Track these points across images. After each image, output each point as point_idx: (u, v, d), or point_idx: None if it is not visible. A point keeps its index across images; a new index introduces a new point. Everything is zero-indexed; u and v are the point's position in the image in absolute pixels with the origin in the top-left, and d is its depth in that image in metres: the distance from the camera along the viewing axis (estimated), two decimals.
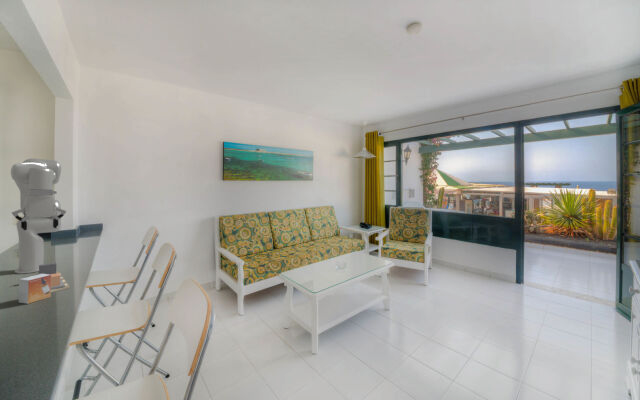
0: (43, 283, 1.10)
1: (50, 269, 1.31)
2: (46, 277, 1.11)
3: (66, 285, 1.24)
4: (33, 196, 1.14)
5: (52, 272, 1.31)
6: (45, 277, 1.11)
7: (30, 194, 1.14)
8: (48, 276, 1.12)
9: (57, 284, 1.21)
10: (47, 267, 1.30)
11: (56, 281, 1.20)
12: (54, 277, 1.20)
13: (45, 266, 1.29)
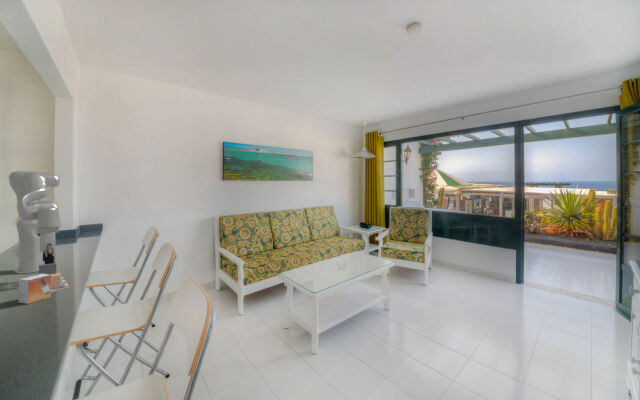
0: (43, 283, 1.10)
1: (50, 269, 1.31)
2: (46, 277, 1.11)
3: (66, 285, 1.24)
4: (55, 232, 1.30)
5: (52, 272, 1.31)
6: (45, 277, 1.11)
7: (53, 231, 1.29)
8: (48, 276, 1.12)
9: (57, 284, 1.21)
10: (47, 267, 1.30)
11: (56, 281, 1.20)
12: (54, 277, 1.20)
13: (45, 266, 1.29)
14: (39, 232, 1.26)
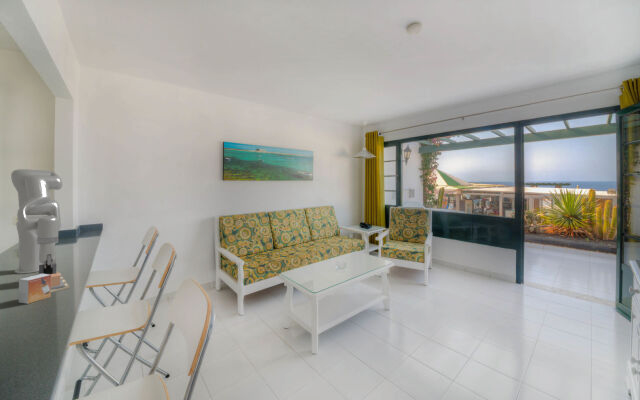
0: (43, 283, 1.10)
1: None
2: (46, 277, 1.11)
3: (66, 285, 1.24)
4: None
5: None
6: (45, 277, 1.11)
7: (52, 242, 1.29)
8: (48, 276, 1.12)
9: (57, 284, 1.21)
10: None
11: (56, 281, 1.20)
12: (54, 277, 1.20)
13: None
14: (39, 243, 1.26)
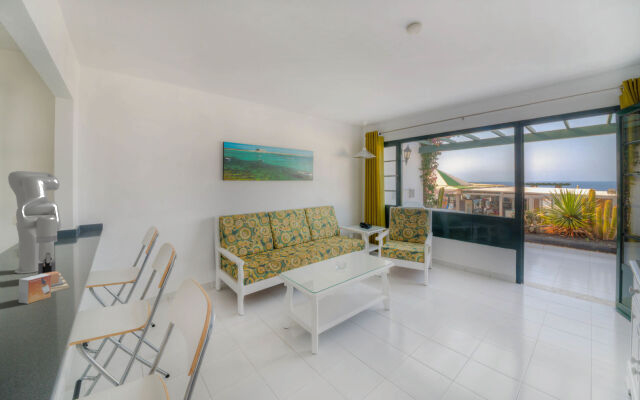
0: (43, 283, 1.10)
1: None
2: (46, 277, 1.11)
3: (66, 285, 1.24)
4: (54, 241, 1.33)
5: None
6: (45, 277, 1.11)
7: (51, 240, 1.32)
8: (48, 276, 1.12)
9: (56, 282, 1.23)
10: None
11: (55, 279, 1.23)
12: (53, 275, 1.22)
13: None
14: (38, 241, 1.29)
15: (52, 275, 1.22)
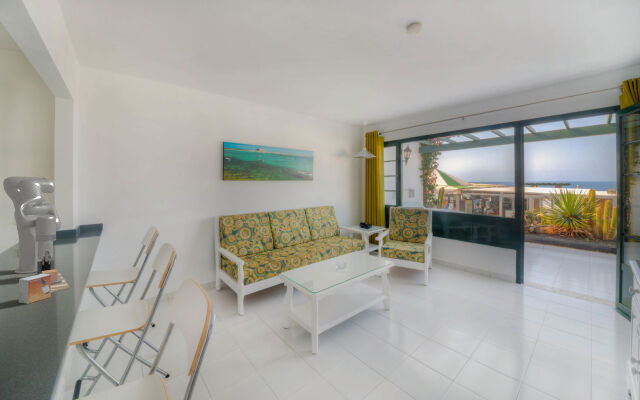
0: (43, 283, 1.10)
1: None
2: (46, 277, 1.11)
3: (66, 285, 1.24)
4: (53, 240, 1.36)
5: (50, 268, 1.37)
6: (45, 277, 1.11)
7: (50, 239, 1.35)
8: (48, 276, 1.12)
9: (54, 280, 1.26)
10: None
11: (53, 277, 1.26)
12: (52, 273, 1.25)
13: None
14: (37, 240, 1.32)
15: (51, 273, 1.25)
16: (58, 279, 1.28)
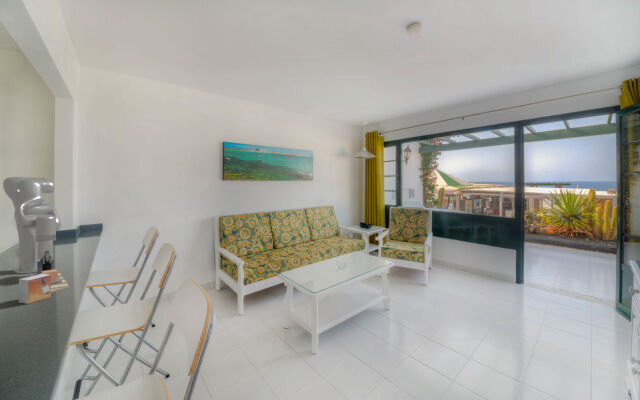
0: (43, 283, 1.10)
1: None
2: (46, 277, 1.11)
3: (66, 285, 1.24)
4: (53, 240, 1.36)
5: None
6: (45, 277, 1.11)
7: (50, 239, 1.35)
8: (48, 276, 1.12)
9: (54, 279, 1.26)
10: None
11: (53, 277, 1.26)
12: (52, 273, 1.25)
13: None
14: (37, 240, 1.32)
15: (51, 273, 1.25)
16: (58, 279, 1.28)
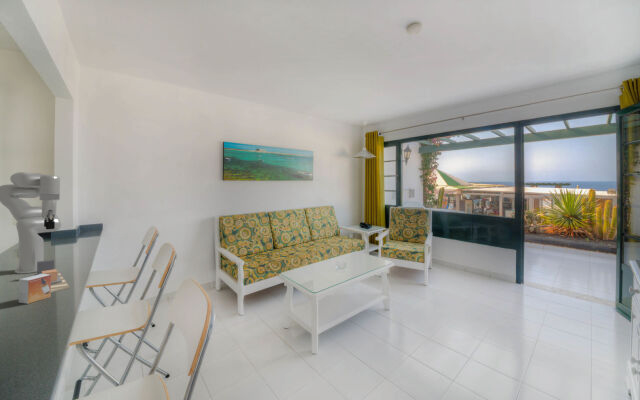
0: (43, 283, 1.10)
1: (48, 265, 1.36)
2: (46, 277, 1.11)
3: (66, 285, 1.24)
4: None
5: (50, 268, 1.37)
6: (45, 277, 1.11)
7: (54, 198, 1.35)
8: (48, 276, 1.12)
9: (54, 279, 1.26)
10: (45, 263, 1.35)
11: (53, 277, 1.26)
12: (52, 273, 1.25)
13: (43, 262, 1.34)
14: (41, 198, 1.32)
15: (51, 273, 1.25)
16: (58, 279, 1.28)
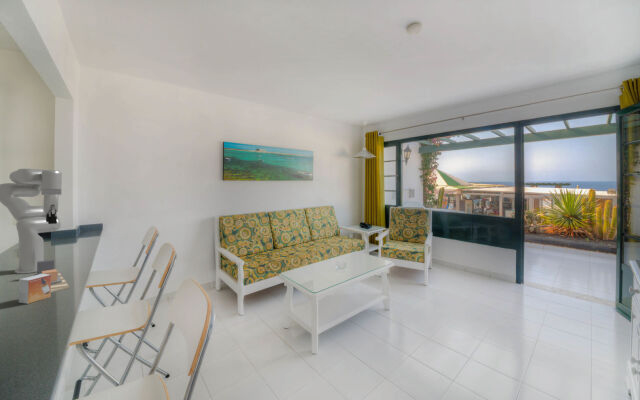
0: (43, 283, 1.10)
1: (48, 265, 1.36)
2: (46, 277, 1.11)
3: (66, 285, 1.24)
4: None
5: (50, 268, 1.37)
6: (45, 277, 1.11)
7: (56, 193, 1.36)
8: (48, 276, 1.12)
9: (54, 279, 1.26)
10: (45, 263, 1.35)
11: (53, 277, 1.26)
12: (52, 273, 1.25)
13: (43, 262, 1.34)
14: (43, 193, 1.33)
15: (51, 273, 1.25)
16: (58, 279, 1.28)
